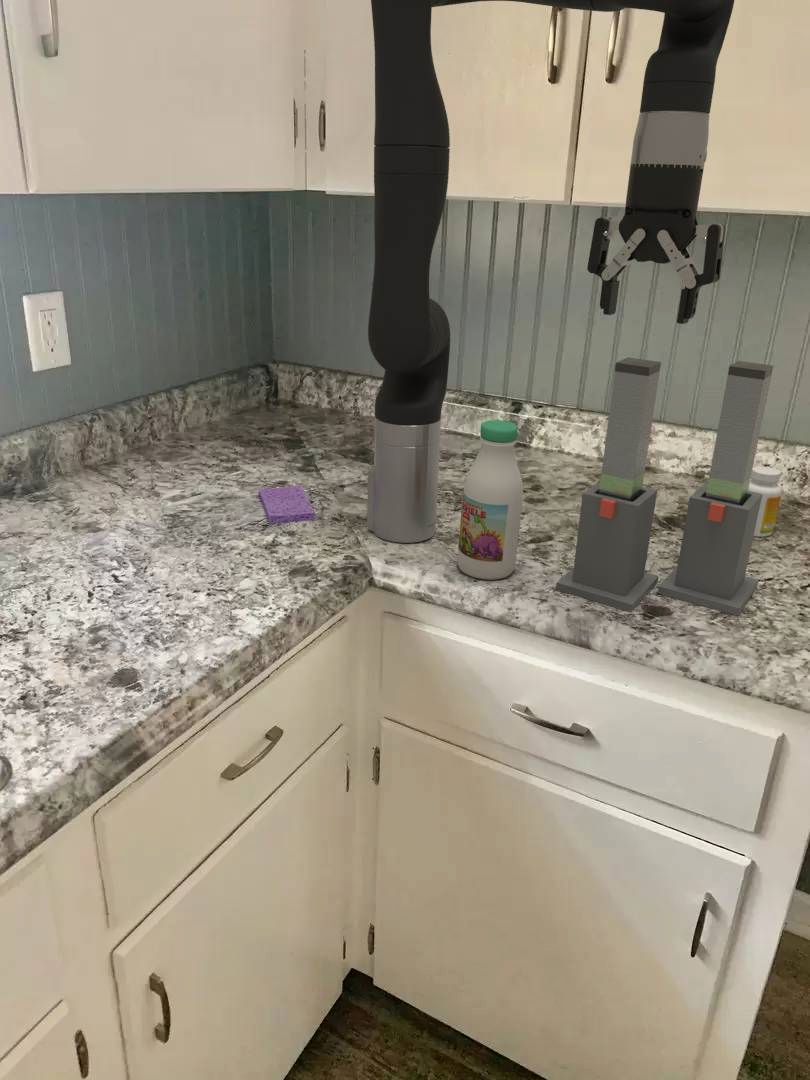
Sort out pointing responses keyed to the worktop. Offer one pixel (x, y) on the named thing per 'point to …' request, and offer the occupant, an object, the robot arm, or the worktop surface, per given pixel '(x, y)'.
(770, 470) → the supplement bottle
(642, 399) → the column
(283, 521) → the sponges
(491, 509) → the milk bottle
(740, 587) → the stand
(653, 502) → the stand
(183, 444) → the worktop surface
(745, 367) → the column
